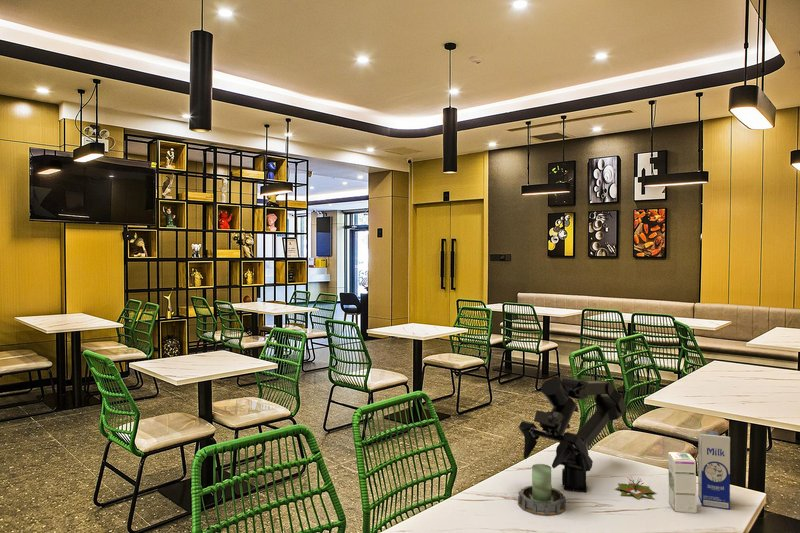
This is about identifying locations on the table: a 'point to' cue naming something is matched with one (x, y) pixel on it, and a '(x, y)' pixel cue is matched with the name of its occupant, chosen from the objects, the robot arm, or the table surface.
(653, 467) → the table surface
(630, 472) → the table surface
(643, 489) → the lily flower
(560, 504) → the gear collar
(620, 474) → the table surface
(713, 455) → the milk carton
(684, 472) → the syrup box
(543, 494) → the green marbled cylinder
